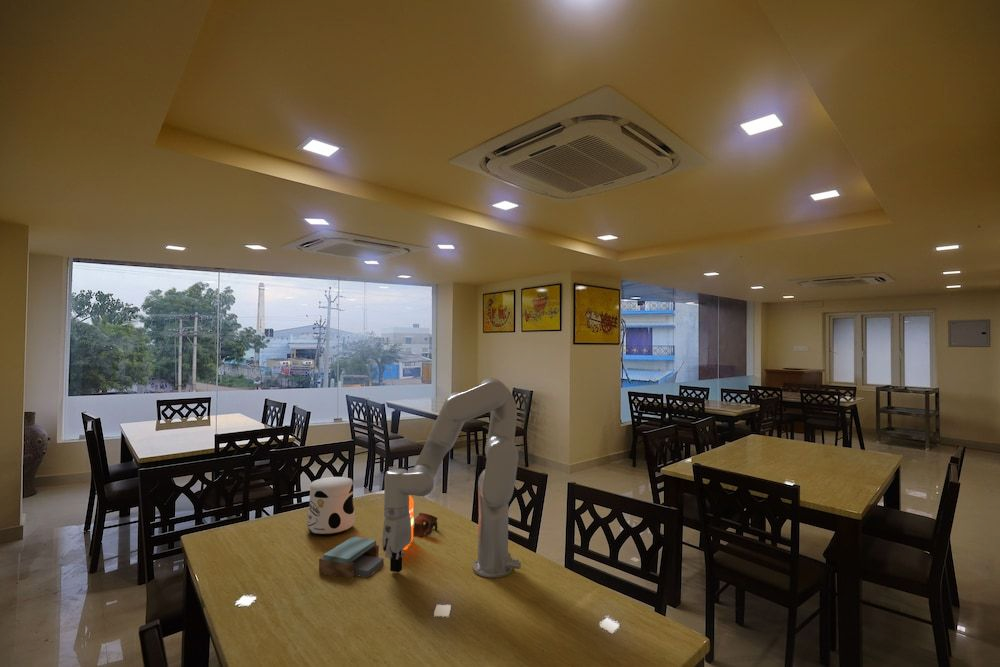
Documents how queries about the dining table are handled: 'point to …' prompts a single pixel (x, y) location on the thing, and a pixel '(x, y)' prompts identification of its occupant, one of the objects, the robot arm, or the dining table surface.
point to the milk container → (331, 506)
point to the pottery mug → (424, 528)
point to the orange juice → (411, 517)
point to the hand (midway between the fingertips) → (396, 570)
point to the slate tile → (367, 565)
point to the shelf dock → (344, 567)
